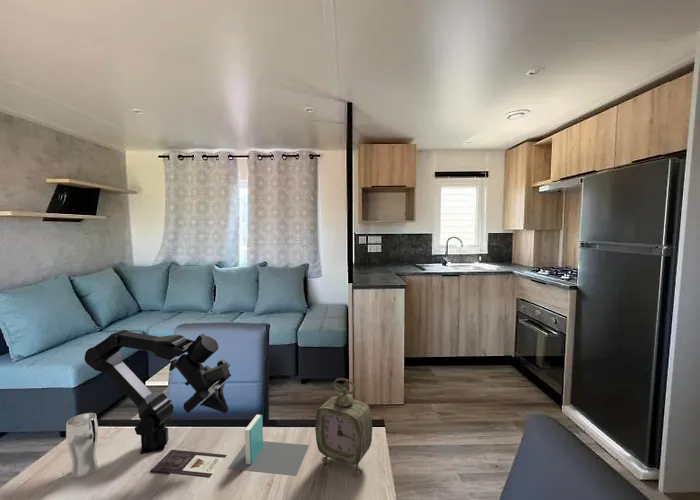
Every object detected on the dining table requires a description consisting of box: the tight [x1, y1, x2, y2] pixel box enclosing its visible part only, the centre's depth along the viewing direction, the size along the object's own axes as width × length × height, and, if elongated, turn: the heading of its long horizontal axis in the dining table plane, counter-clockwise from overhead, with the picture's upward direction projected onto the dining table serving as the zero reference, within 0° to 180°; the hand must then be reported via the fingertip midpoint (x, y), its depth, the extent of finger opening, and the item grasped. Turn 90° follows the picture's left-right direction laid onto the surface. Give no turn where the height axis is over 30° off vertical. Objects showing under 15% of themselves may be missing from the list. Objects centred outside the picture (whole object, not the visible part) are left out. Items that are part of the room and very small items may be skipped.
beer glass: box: [65, 412, 99, 479], centre depth 94 cm, size 7×7×15 cm
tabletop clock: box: [314, 377, 373, 477], centre depth 96 cm, size 14×9×25 cm, turn 62°
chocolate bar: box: [149, 449, 227, 478], centre depth 97 cm, size 9×1×18 cm
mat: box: [227, 440, 310, 476], centre depth 99 cm, size 20×13×1 cm, turn 81°
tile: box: [244, 414, 264, 464], centre depth 100 cm, size 2×8×10 cm, turn 171°
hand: (227, 411), depth 100 cm, fingers closed
